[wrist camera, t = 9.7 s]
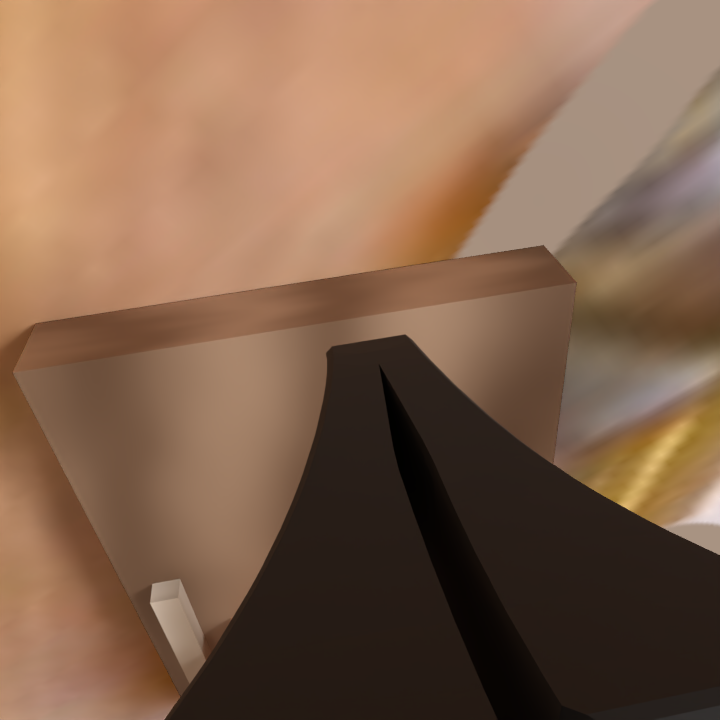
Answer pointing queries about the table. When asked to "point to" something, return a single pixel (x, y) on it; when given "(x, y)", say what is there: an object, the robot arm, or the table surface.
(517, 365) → the brown piece
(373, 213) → the table surface
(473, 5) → the table surface
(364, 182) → the table surface
